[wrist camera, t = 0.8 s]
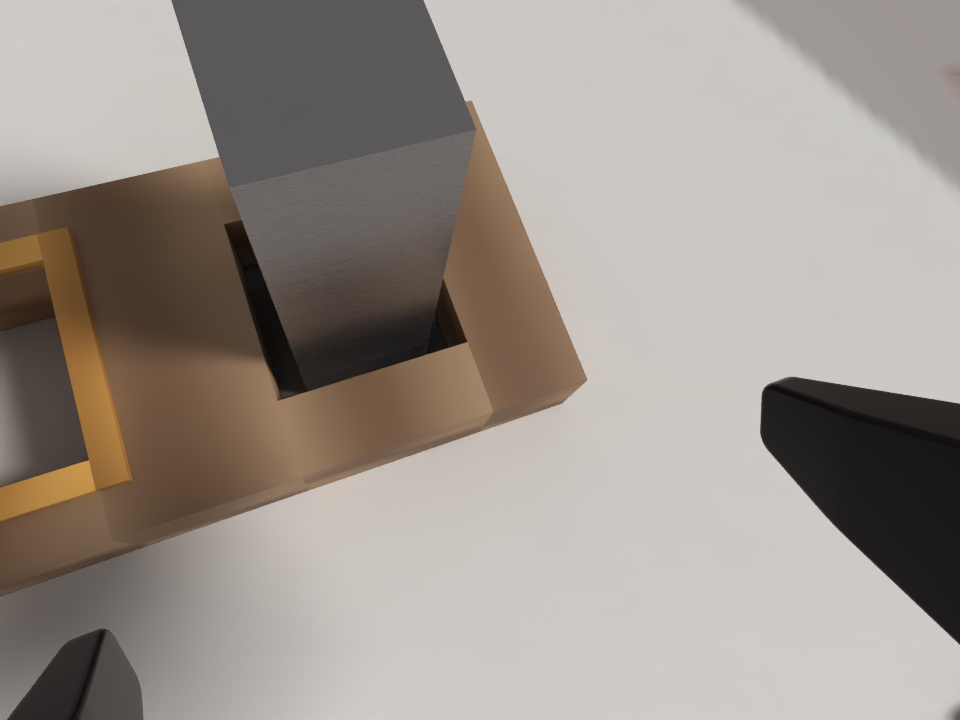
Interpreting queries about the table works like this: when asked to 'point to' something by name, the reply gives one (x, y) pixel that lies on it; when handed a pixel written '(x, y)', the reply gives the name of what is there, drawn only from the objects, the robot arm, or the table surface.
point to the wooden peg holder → (241, 363)
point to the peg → (337, 165)
